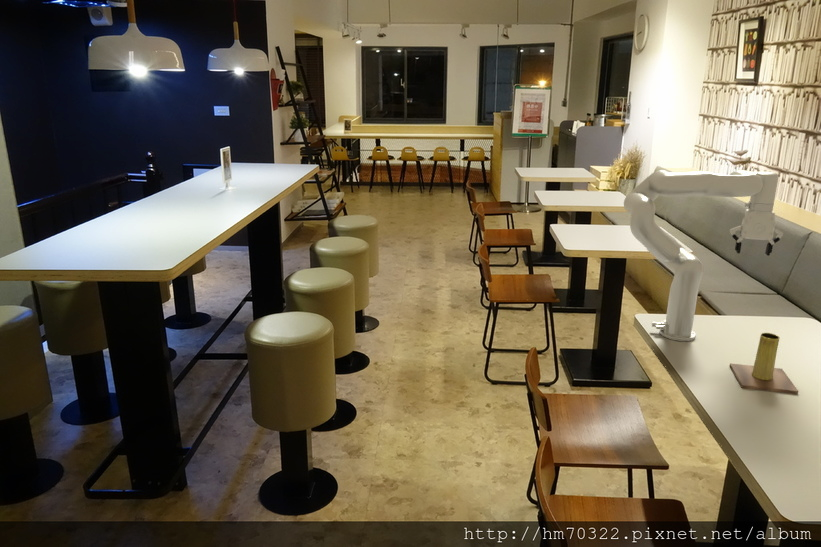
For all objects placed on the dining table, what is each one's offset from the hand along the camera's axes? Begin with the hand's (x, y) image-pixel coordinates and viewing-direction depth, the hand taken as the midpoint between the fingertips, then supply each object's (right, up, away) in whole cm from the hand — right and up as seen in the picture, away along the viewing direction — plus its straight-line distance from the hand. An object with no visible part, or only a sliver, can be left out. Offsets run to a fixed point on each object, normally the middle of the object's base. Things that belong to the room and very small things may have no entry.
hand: (752, 253), depth 227 cm
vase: (-10, -41, -23) cm, 48 cm away
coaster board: (-10, -42, -23) cm, 49 cm away
